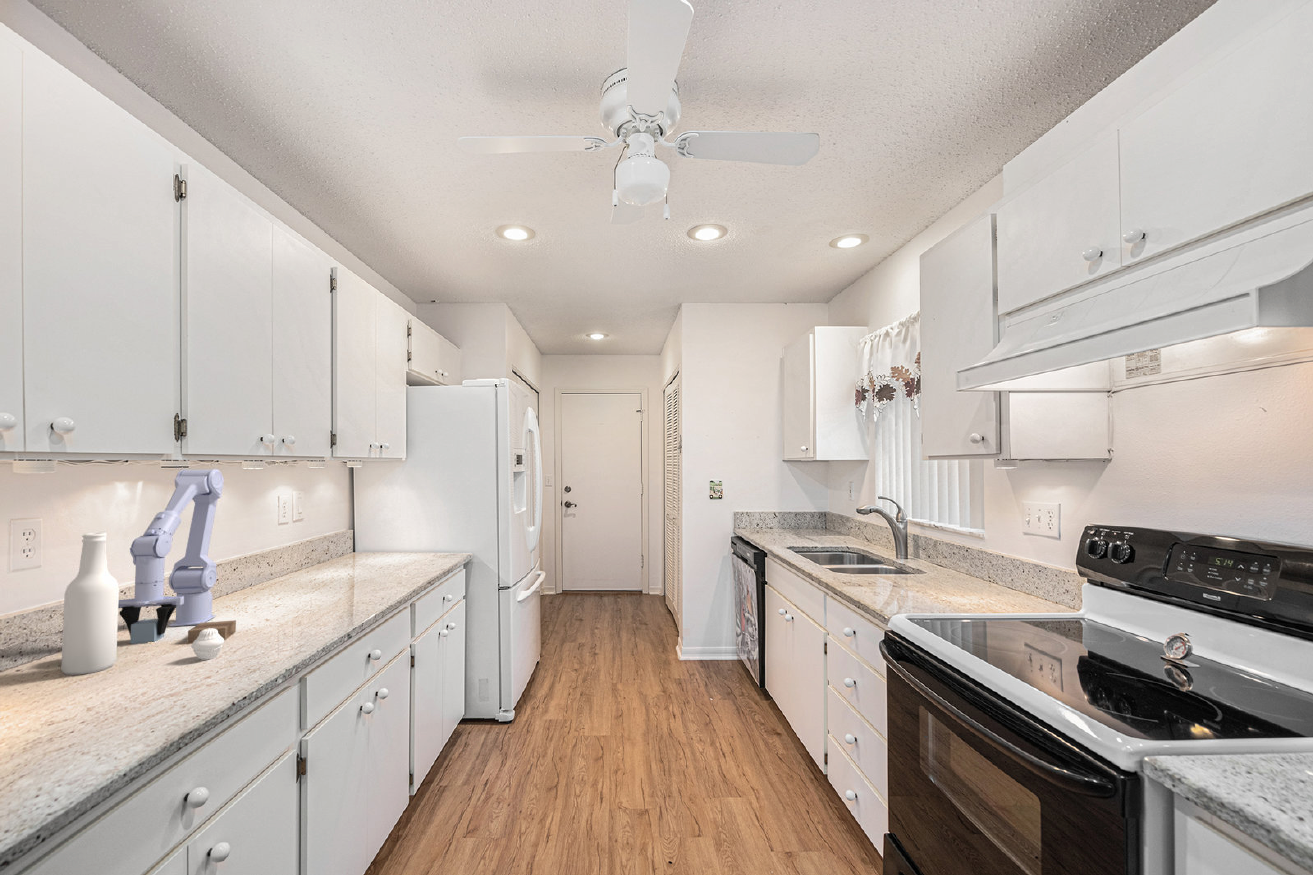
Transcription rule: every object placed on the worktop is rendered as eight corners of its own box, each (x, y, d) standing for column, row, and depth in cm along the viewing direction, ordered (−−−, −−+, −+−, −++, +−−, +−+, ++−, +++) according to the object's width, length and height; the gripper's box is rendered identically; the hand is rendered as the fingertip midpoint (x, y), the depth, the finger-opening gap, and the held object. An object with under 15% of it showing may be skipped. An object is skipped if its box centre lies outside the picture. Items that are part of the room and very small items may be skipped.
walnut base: (200, 636, 157) (200, 622, 157) (235, 633, 160) (235, 620, 160) (187, 644, 149) (188, 630, 150) (224, 641, 152) (225, 628, 152)
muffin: (230, 654, 141) (231, 624, 141) (207, 663, 135) (208, 632, 135) (208, 653, 142) (208, 623, 142) (184, 661, 136) (185, 631, 136)
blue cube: (141, 639, 154) (141, 619, 154) (163, 637, 155) (164, 618, 155) (130, 644, 149) (131, 624, 149) (154, 642, 150) (154, 623, 151)
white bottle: (124, 665, 133) (130, 532, 135) (74, 678, 125) (80, 536, 126) (102, 660, 137) (107, 530, 138) (52, 673, 128) (58, 534, 130)
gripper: (106, 586, 147) (103, 641, 146) (175, 583, 151) (173, 636, 150) (122, 581, 154) (120, 634, 153) (188, 578, 158) (186, 629, 157)
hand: (147, 634), depth 152 cm, fingers open, 5 cm apart
